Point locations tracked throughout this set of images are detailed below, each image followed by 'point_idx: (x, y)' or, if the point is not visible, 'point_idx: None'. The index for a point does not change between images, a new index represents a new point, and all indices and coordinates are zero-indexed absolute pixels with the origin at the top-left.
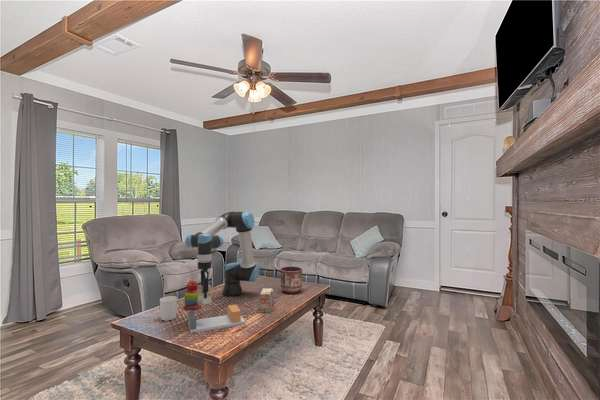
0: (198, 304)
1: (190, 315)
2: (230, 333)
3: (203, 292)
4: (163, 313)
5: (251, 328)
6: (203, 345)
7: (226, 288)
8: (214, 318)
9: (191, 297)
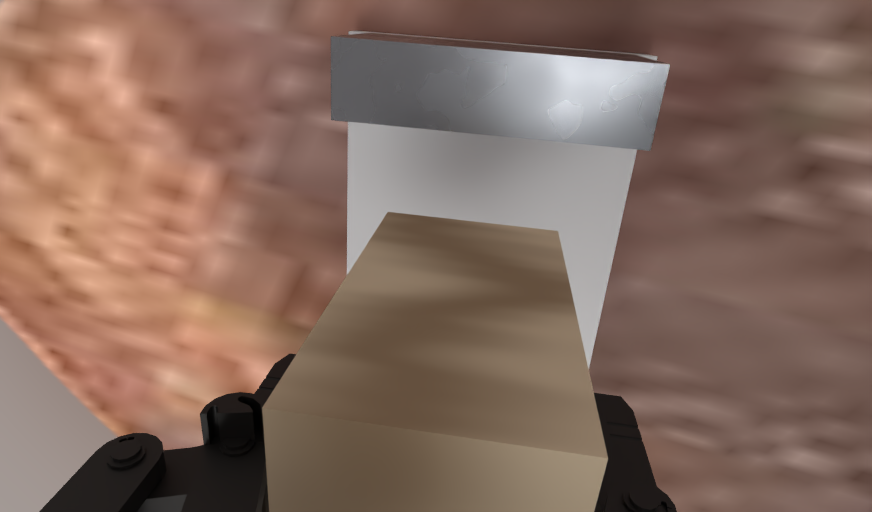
0: (385, 216)
1: (461, 61)
2: (217, 343)
3: (224, 433)
4: None
5: None
6: (55, 93)
7: None
8: None
9: None
